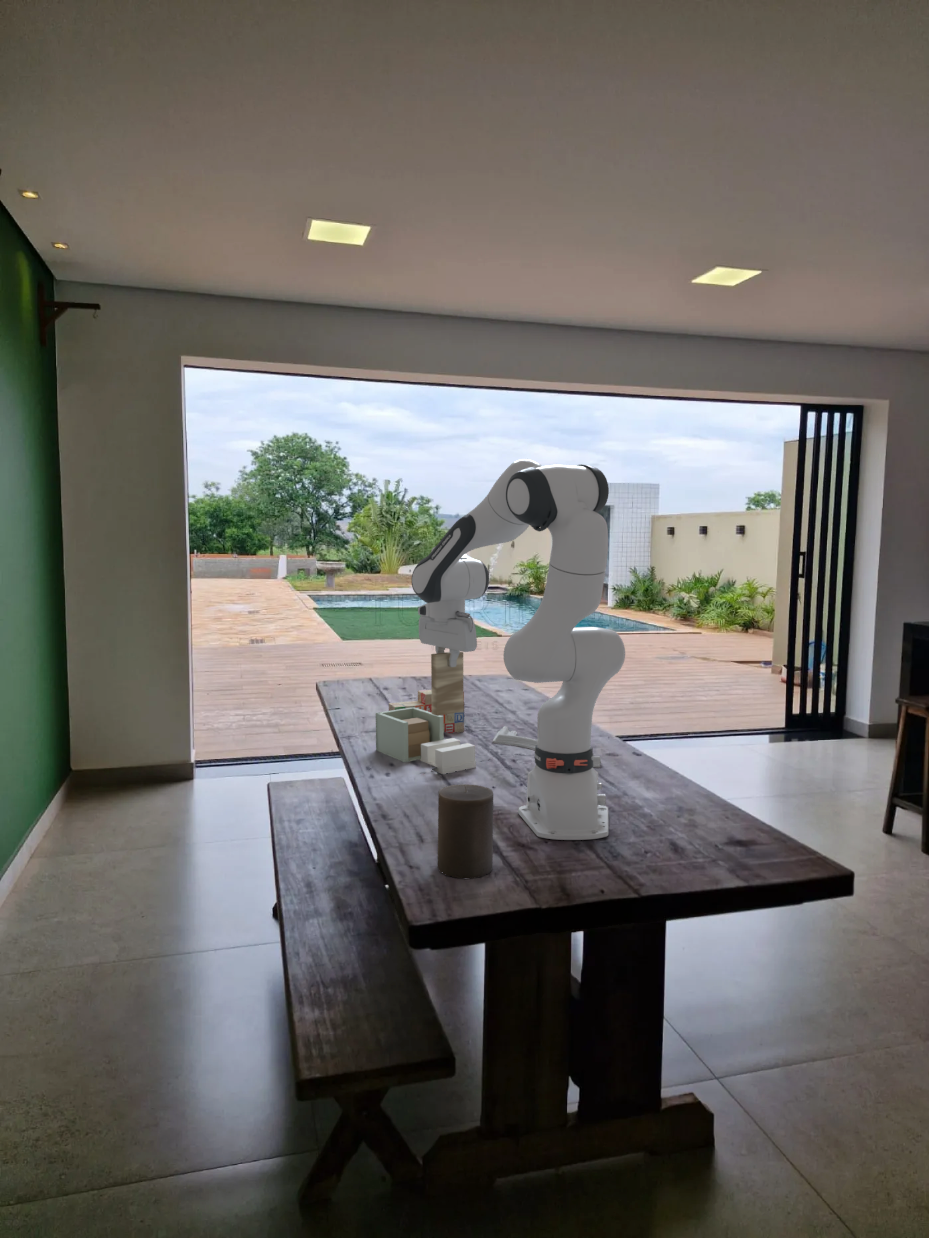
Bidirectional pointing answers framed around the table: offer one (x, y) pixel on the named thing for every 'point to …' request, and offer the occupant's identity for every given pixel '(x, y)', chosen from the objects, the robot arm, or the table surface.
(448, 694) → the rectangular block
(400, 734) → the rack
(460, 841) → the pillar candle
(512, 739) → the molding
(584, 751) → the robot arm
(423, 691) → the stack of blocks
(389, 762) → the table surface
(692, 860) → the table surface
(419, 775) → the table surface
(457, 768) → the holder
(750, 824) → the table surface
